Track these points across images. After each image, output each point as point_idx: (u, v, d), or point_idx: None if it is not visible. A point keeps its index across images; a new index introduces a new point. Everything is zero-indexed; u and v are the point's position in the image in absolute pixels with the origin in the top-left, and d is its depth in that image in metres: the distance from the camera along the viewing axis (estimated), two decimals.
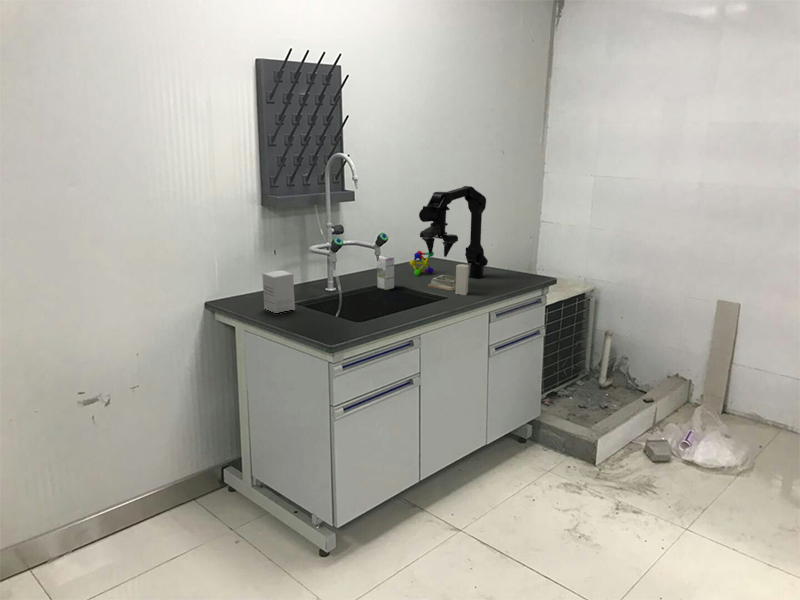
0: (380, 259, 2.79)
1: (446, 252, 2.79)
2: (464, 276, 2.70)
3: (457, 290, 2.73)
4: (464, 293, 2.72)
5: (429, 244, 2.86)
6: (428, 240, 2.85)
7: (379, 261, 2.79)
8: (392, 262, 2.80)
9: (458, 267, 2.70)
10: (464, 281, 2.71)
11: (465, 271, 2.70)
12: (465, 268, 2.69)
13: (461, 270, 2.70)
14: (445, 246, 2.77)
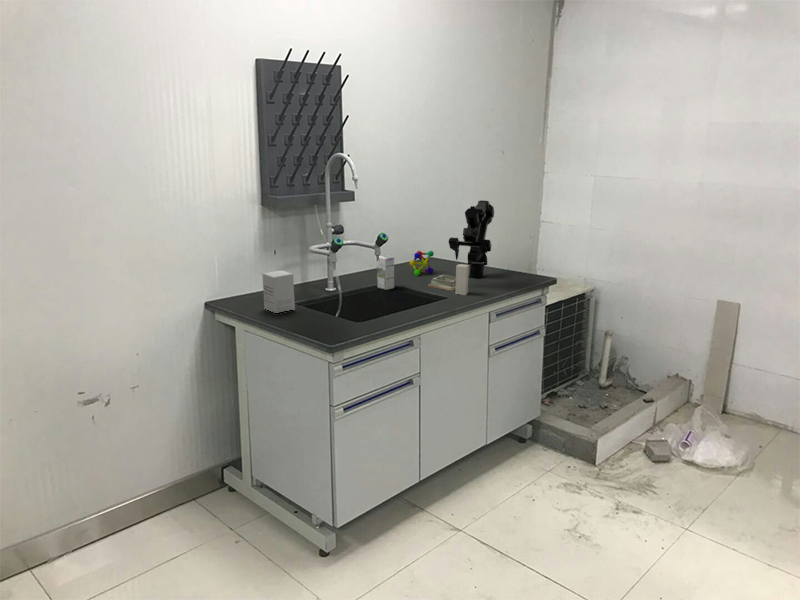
0: (380, 259, 2.78)
1: (479, 256, 2.78)
2: (464, 276, 2.70)
3: (457, 290, 2.73)
4: (464, 293, 2.72)
5: (457, 250, 2.82)
6: (457, 246, 2.82)
7: (379, 261, 2.79)
8: (392, 262, 2.80)
9: (458, 267, 2.70)
10: (464, 281, 2.71)
11: (465, 271, 2.70)
12: (465, 268, 2.69)
13: (461, 270, 2.70)
14: (480, 249, 2.78)
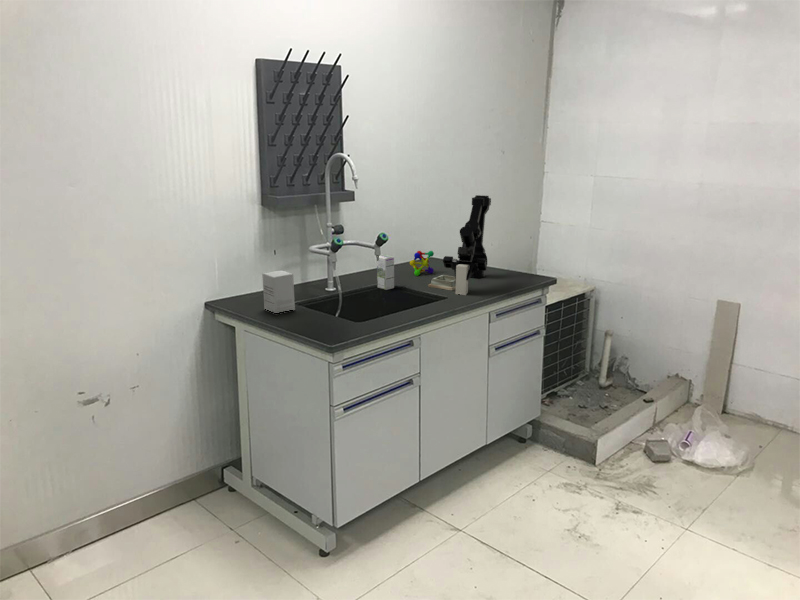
0: (380, 259, 2.78)
1: (469, 275, 2.72)
2: (464, 276, 2.70)
3: (457, 290, 2.73)
4: (464, 293, 2.72)
5: None
6: None
7: (379, 261, 2.79)
8: (392, 262, 2.80)
9: (458, 267, 2.70)
10: (464, 281, 2.71)
11: (465, 271, 2.70)
12: (465, 268, 2.69)
13: (461, 270, 2.70)
14: (471, 268, 2.72)
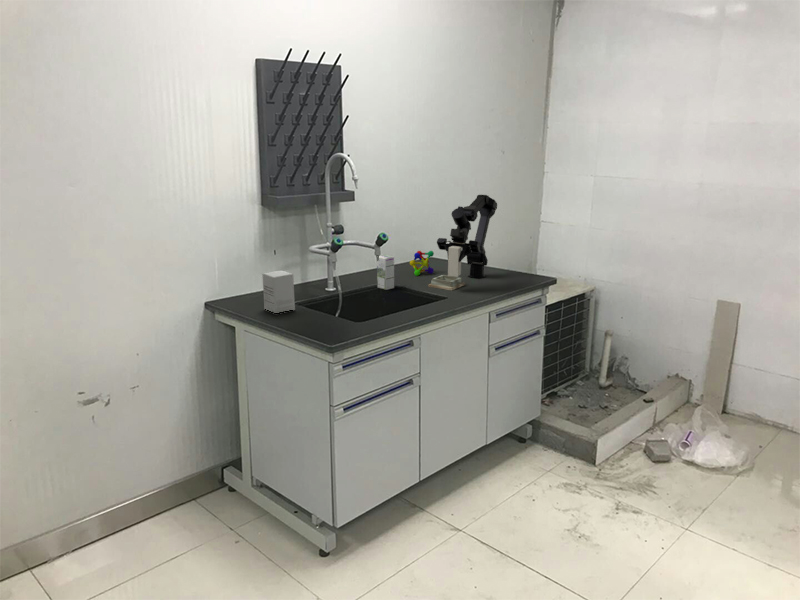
0: (380, 259, 2.78)
1: (461, 257, 2.75)
2: (456, 258, 2.73)
3: (449, 271, 2.76)
4: (456, 274, 2.75)
5: None
6: None
7: (379, 261, 2.79)
8: (392, 262, 2.80)
9: (450, 249, 2.73)
10: (456, 263, 2.74)
11: (457, 253, 2.73)
12: (457, 250, 2.72)
13: (454, 251, 2.73)
14: (463, 250, 2.75)
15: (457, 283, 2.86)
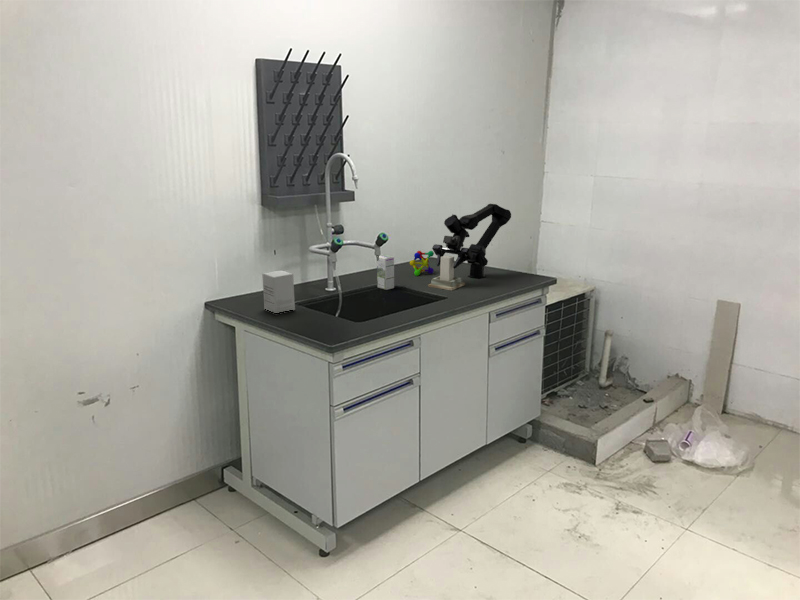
0: (380, 259, 2.79)
1: (456, 264, 2.83)
2: (447, 267, 2.83)
3: None
4: None
5: (440, 257, 2.88)
6: (440, 253, 2.89)
7: (379, 261, 2.79)
8: (392, 262, 2.80)
9: (442, 258, 2.84)
10: (447, 272, 2.84)
11: (448, 262, 2.83)
12: (448, 259, 2.82)
13: (445, 261, 2.83)
14: (459, 257, 2.83)
15: (457, 283, 2.86)
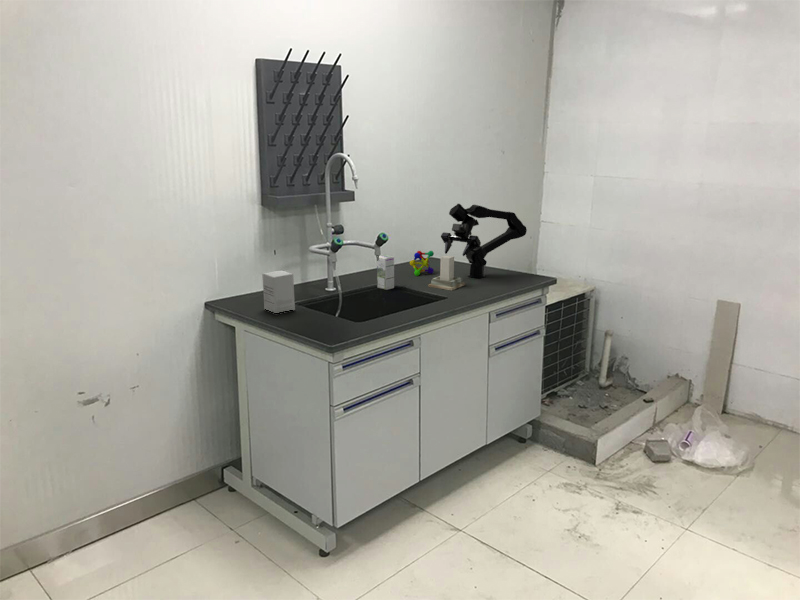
0: (380, 259, 2.79)
1: (466, 251, 2.88)
2: (447, 267, 2.83)
3: None
4: None
5: (448, 244, 2.94)
6: (448, 241, 2.94)
7: (379, 261, 2.79)
8: (392, 262, 2.80)
9: (442, 258, 2.84)
10: (447, 272, 2.84)
11: (448, 262, 2.83)
12: (448, 259, 2.82)
13: (445, 261, 2.83)
14: (468, 245, 2.88)
15: (457, 283, 2.86)
